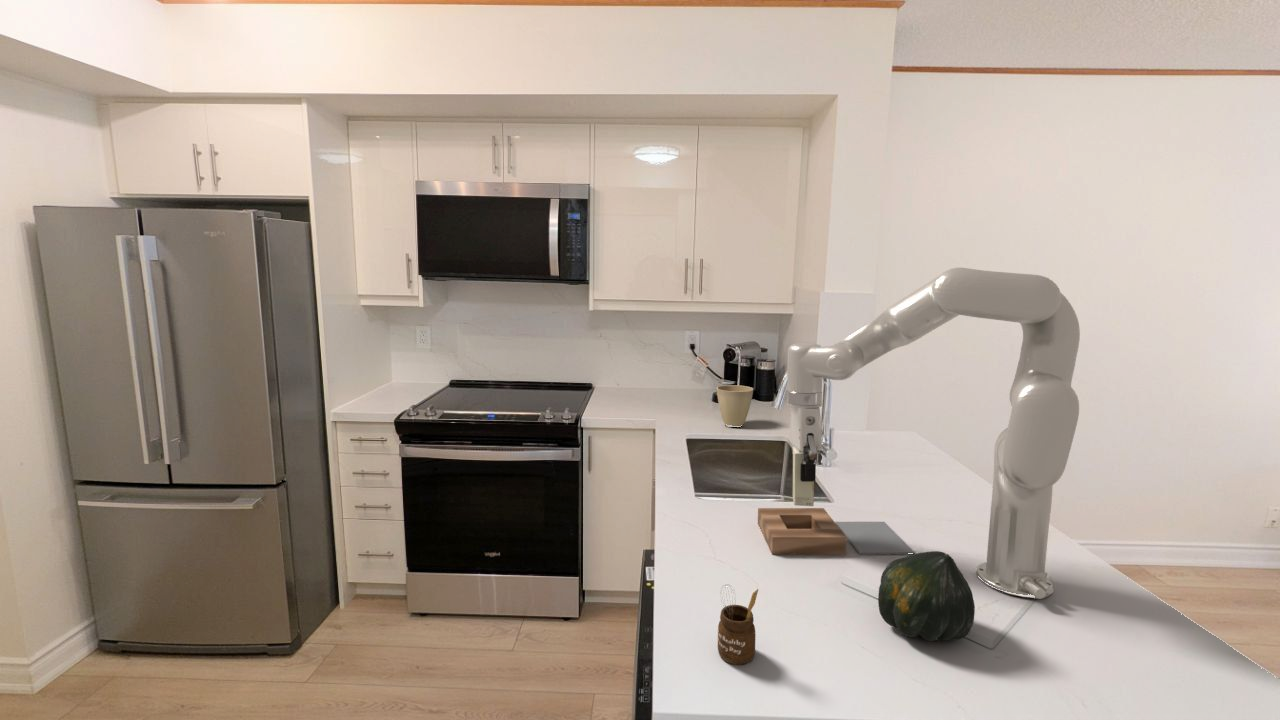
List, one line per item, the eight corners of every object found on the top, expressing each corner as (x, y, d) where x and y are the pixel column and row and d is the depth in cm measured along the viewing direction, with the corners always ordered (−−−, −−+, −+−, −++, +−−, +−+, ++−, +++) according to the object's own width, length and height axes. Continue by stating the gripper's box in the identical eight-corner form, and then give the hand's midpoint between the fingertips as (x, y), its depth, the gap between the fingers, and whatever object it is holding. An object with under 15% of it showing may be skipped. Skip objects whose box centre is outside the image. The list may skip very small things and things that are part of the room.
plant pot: (752, 431, 226) (753, 392, 224) (715, 429, 228) (715, 390, 226) (752, 422, 240) (753, 385, 238) (716, 421, 243) (717, 384, 241)
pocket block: (845, 554, 124) (846, 537, 123) (772, 554, 124) (772, 537, 123) (822, 523, 140) (823, 508, 139) (757, 523, 140) (758, 508, 139)
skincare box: (814, 507, 127) (815, 454, 125) (793, 506, 128) (794, 453, 126) (811, 496, 133) (812, 446, 131) (792, 495, 134) (792, 445, 132)
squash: (849, 578, 103) (897, 543, 93) (912, 567, 109) (964, 532, 98) (888, 662, 95) (946, 634, 84) (955, 645, 100) (1017, 617, 89)
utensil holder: (729, 637, 95) (730, 570, 93) (763, 652, 91) (765, 582, 89) (710, 655, 91) (710, 585, 89) (745, 672, 87) (746, 599, 85)
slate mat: (914, 554, 124) (914, 552, 124) (859, 554, 124) (859, 552, 124) (884, 523, 139) (884, 521, 139) (835, 523, 140) (835, 521, 140)
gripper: (834, 406, 119) (832, 488, 121) (810, 391, 136) (808, 463, 138) (798, 407, 119) (796, 489, 121) (778, 391, 136) (777, 464, 138)
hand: (803, 474), depth 129 cm, fingers closed on skincare box, 6 cm apart
